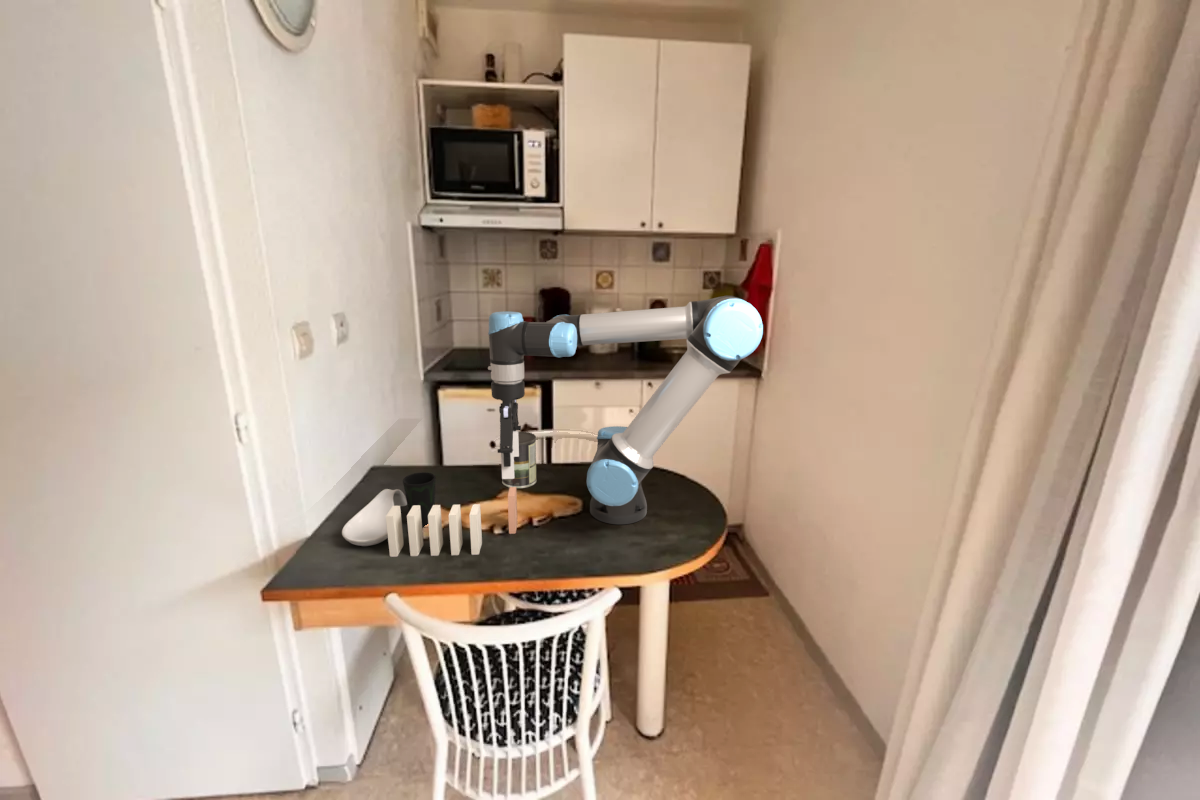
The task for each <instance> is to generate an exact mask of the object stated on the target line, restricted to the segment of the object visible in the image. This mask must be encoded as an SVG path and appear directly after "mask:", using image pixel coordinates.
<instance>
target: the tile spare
mask: <svg viewBox="0 0 1200 800" xmlns="http://www.w3.org/2000/svg"><path fill="white" fill-rule="evenodd" d="M517 494H518V493H517V488H516V487H509V488H508V493H507V510H508V515H507V516H508V517H507V518H508V534H510V535H511V534H513V535H514V534H516V533H517V528H518V501H517V500H518V499H517V498H518V497H517Z"/></svg>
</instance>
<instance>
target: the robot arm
mask: <svg viewBox="0 0 1200 800" xmlns="http://www.w3.org/2000/svg"><path fill="white" fill-rule="evenodd" d="M487 333H488V334H487V335H488V343H489V344H488V345H489V359H490V362H489V363H490V365H488V367H487V370H488V371H491V372H490V378H491V380H492V381H491V384H490V386H491V397H492V398H493V399H494V400H498V401H501V403H500V406H499V422H500V424H499V426H500V427H499V429H500V431H499V434H500V435H499V436H500V437H499V449H498V448H497V454H500V461H501V479H514V457H519V439H518V432H519V431H522V426H521V425H519V423H520V422H519V417H518V416H519V403H518V402H517V400H519V399H522V398H524V396H525V394H526V391H525V381H524V379H525V360H524V356H525V357H527V356H528V357H529V356H530V357H531V356H532V357H533V356H534V357H554V358H560V359H561V358H563V357H565V358H566V357H567V358H569V357H573V356H574V355H575V354H576V350H577V347H580V346H581V347H583V346H590V345H591V346H592V345H609V344H611V345H612V344H622V343H640V342H655V341H656V342H657V341H670V340H674V341H675V340H686V348H687V350H686V351H685V353H684V354H683V355H682V356H681V358H680V359H679V360H678V362H677V363H676V364H675V365H674V367H673V368H672V370H671V371H670V372H669V373H668V374H667V376H666V377H665V378H664V380H663V381H662V382H661V384H660V385H659V386H658V387H657V389H656V390H655V391H654V393H652V395H651V396H650V397H649V399H648V400H647V401H646V402H645V404H644V405H643V406H642V408H641V409H640V410H639V412H638V413H637V414H636V416H634V418H633V419H632V421H631V422H630V423H629V424H628V426H621V425H620V426H618V425H616V426H615V425H614V426H605V427H602V428H600V429H598V431H597V436H596V440H597V445H596V446H597V447H596V452H595V454H594V456H593V459H592V461H591V464H590V466H589V468H588V470H587V473H586V486H587V489H588V490H587V491H589V493H590V495H591V498H590V501H589V512H590V515H591V516H592V517H593V518H595V520H598V521H599V522H602V523H606V524H611V525H630V524H633V523H637V522H639V521H641V520H643V519H644V518H645V517H646V515H647V512H648V511H647V510H648V504H647V500H646V497H645V493H644V490H643V486H642V481H643V480H644V479H645V478H646V476H647V475H648V474H649V473H650V471H651V470H652V469H653V467H654V464H655V463H654V456H655V454H657V452H658V451H659V449H661V447H662V446H663V445H664V443H665V442H666V441H667V439H668V438H669V437H670V436H671V434H673V432H674V431H675V430H676V428H677V427H678V426H679V425H680V424H681V422H682V421H683V419H685V417H686V416H687V415H688V414H689V412H691V410H692V409H693V407H694V406H696V404H697V402H699V400H700V399H701V398H702V396H703V395H704V394H705V392H706V391H707V390H708V389H709V388H710V387H711V385H712V384H713V383H714V382H715V380H716V379H717V378H718V377H719V376H720V375H723V374H730V373H731V372H732V371H733V369H735V367H736V366H737V365H738V364H739V363H740V361H741V360H742V359H745V358H746V357H748V356H750V355H751V354H752V353H754V351H756V349H757V348H758V347H759V345H760V343H761V340H762V338H763V335H764V324H763V321H762V317H761V315H760V313H759V312H758V310H757V309H756V308H755V307H754V306H753V305H752V304H751V303H750V302H747V301H746V300H744V299H743V298H740V297H738V296H734V295H724V296H718V297H714V298H709V299H703V300H693V301H689V302H688V303H687V304H686V305H684V306H672V307H664V308H663V307H662V308H650V309H649V308H647V309H635V310H623V311H622V310H621V311H610V312H598V313H597V312H596V313H586V314H582V313H581V314H571V315H569V314H559V315H556V316H554V317H552V318H551V319H550V320H546V322H545V321H543V322H542V321H541V322H540V321H539V322H537V321H535V322H534V321H532V322H531V321H524V318H523V314H522V313H521V312H518V311H495V312H492V313H491V314H490V315H489V316H488V332H487ZM506 446H508V447H506Z"/></svg>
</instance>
